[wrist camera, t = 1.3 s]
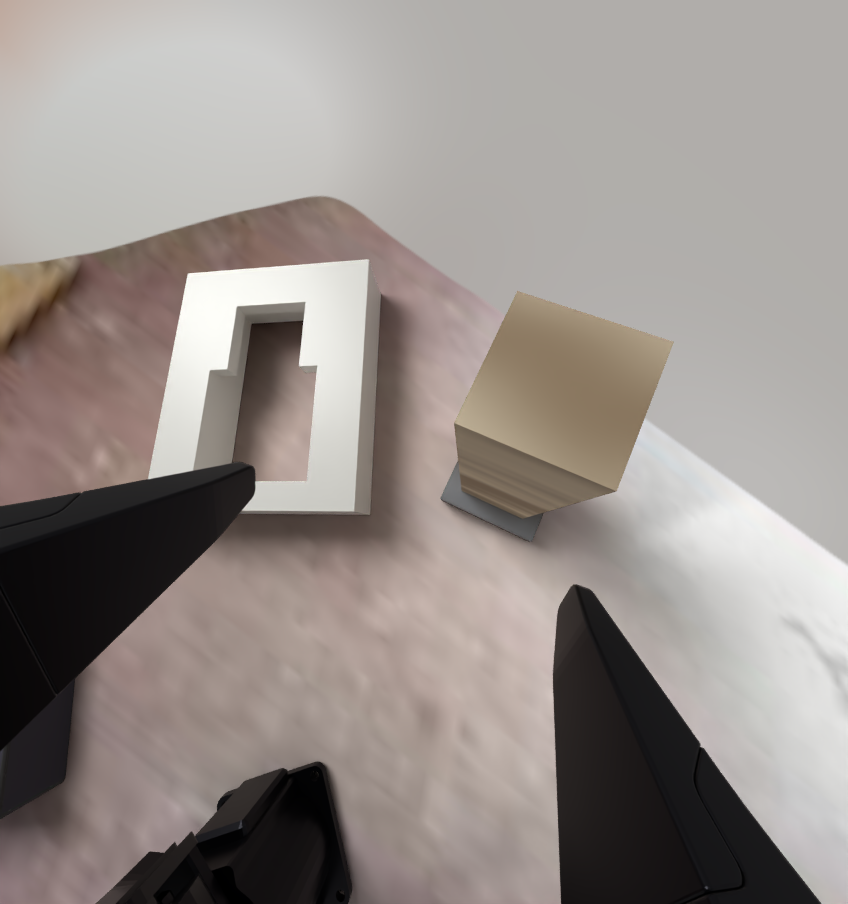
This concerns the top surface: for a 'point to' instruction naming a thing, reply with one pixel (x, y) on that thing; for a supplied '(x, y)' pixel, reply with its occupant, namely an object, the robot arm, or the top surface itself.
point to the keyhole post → (551, 414)
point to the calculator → (36, 755)
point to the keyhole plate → (322, 351)
